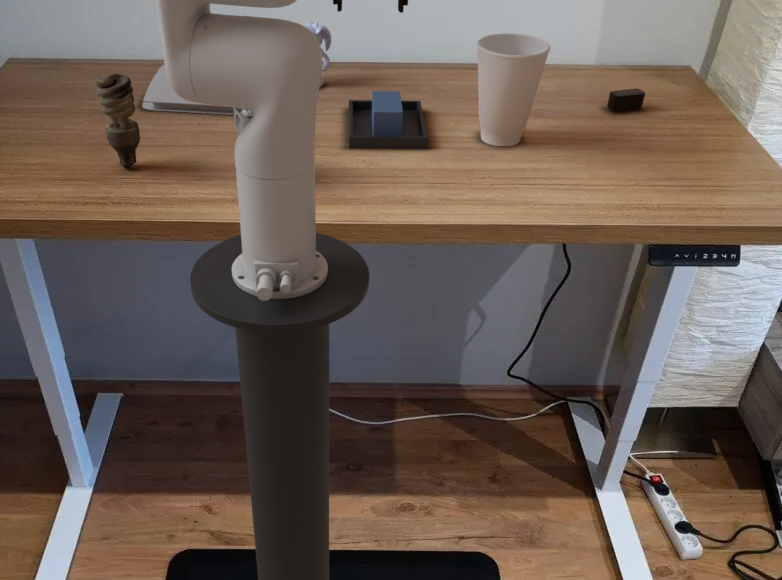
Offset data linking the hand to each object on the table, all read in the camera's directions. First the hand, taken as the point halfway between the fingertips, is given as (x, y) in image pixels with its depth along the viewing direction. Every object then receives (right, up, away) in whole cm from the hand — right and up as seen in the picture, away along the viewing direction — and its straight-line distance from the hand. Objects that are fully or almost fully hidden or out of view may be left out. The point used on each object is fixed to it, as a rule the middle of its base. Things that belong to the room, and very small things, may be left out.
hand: (370, 9), depth 127 cm
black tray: (+4, -13, +18) cm, 22 cm away
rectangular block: (+4, -13, +18) cm, 22 cm away
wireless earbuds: (+50, -7, +26) cm, 57 cm away
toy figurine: (-10, +1, +35) cm, 36 cm away
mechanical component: (-18, -26, +3) cm, 32 cm away
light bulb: (-39, -24, +5) cm, 46 cm away
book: (-30, -4, +29) cm, 42 cm away
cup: (+24, -16, +15) cm, 32 cm away
